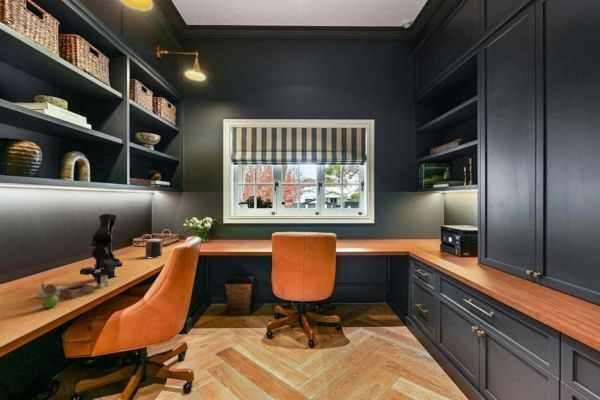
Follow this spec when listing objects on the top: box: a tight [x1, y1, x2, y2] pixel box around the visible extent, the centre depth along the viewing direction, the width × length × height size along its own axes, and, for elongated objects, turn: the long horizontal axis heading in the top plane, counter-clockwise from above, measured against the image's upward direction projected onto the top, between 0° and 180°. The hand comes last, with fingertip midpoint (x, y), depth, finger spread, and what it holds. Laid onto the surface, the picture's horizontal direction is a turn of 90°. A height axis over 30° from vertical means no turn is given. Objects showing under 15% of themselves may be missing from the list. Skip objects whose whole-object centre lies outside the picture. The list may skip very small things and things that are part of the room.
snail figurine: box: [40, 280, 60, 309], centre depth 110 cm, size 5×6×12 cm
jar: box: [145, 238, 163, 258], centre depth 208 cm, size 12×12×15 cm
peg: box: [96, 274, 109, 289], centre depth 136 cm, size 3×3×6 cm
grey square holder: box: [59, 283, 94, 300], centre depth 125 cm, size 9×9×4 cm
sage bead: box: [37, 285, 67, 298], centre depth 125 cm, size 7×7×3 cm
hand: (102, 282), depth 136 cm, fingers closed on peg, 3 cm apart
